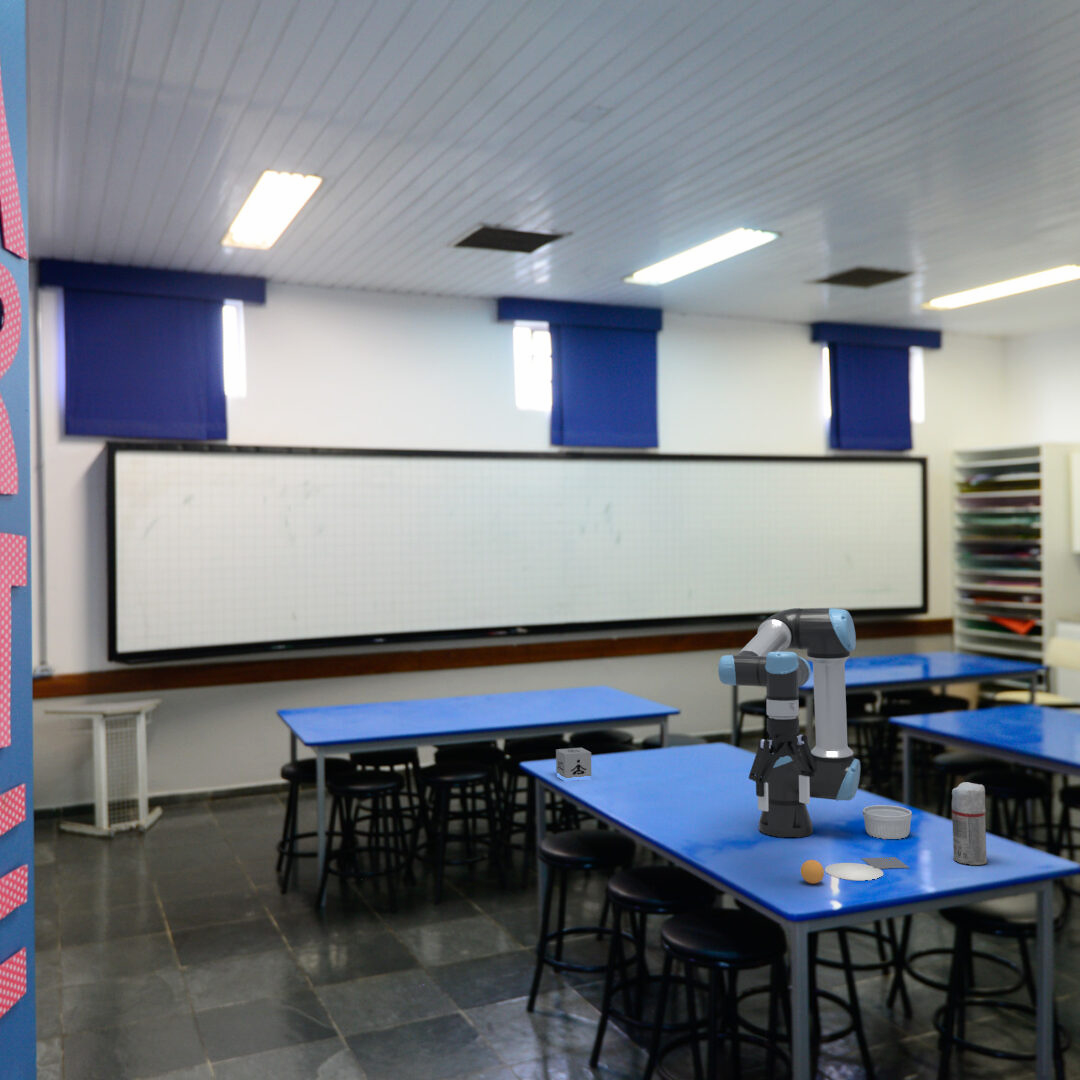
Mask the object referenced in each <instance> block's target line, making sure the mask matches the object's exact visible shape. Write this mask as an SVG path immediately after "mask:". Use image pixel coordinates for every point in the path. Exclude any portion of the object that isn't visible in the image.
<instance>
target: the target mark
mask: <svg viewBox="0 0 1080 1080" xmlns="http://www.w3.org/2000/svg"><path fill="white" fill-rule="evenodd" d="M874 868H875V869H874ZM825 871H826V872H825ZM824 872H825V873H826V874H827V873H828V875H829V876H831V877H833V876H834V877H833V878H837V879H840V878H841V879H840V880H847V881H857V882H858V881H859V882H860V881H861V882H862V881H863V882H864V881H865V880H868V881H873V880H872V879H875V880H878V879H877V878H879V877H881V876H882V877H883V876H884V871H883V870H882V869H878V868H876V867H872V866H870V865H868V864H864V863H857V862H856V863H855V862H839V863H838V862H837V863H832V864H829V865H827V866H826V867H825V869H824ZM882 877H881V878H882ZM879 879H880V878H879Z"/></svg>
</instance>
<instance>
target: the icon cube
mask: <svg viewBox="0 0 1080 1080" xmlns="http://www.w3.org/2000/svg"><path fill="white" fill-rule="evenodd" d="M555 762H556V763H555V764H556V765H555V766H556V767H555V769H556V770H555V771H556V772H557V773H559V774H560V775H561V776H563V777H565V778H572V777H582V776H583V777H584V776H592V752H591V751H589V750H587V749H585V748H583V747H572V748H571V747H570V748H559V749H555Z"/></svg>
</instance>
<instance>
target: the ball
mask: <svg viewBox="0 0 1080 1080" xmlns="http://www.w3.org/2000/svg"><path fill="white" fill-rule="evenodd" d="M800 875H801V878H803V880H804V881H805V882H807V883H808V884H818V883H820V882H821V881H822V880H823V879H824V877H825V869H824V867H823V865H822V864H821V863H820V862H819V861H818V860H814V859H808V860H805V861H804V862H803V863H802V865H801V867H800Z"/></svg>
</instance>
